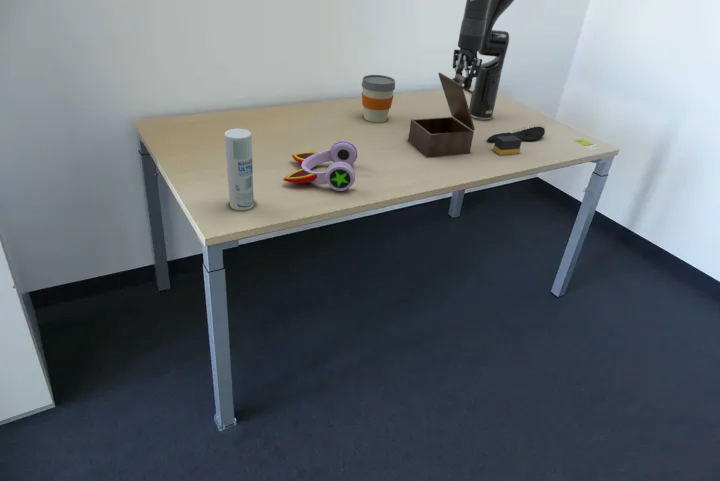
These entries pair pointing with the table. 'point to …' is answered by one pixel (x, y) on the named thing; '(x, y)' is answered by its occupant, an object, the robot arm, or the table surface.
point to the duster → (507, 145)
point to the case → (440, 136)
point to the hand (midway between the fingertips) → (461, 86)
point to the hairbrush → (523, 134)
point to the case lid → (457, 99)
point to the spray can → (239, 168)
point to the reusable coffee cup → (377, 97)
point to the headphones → (336, 174)
